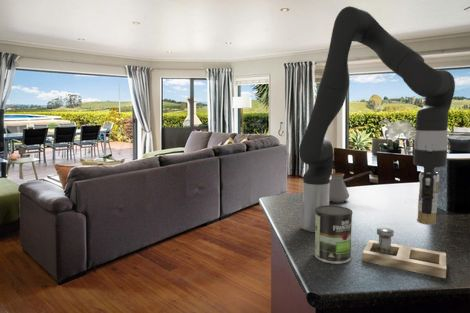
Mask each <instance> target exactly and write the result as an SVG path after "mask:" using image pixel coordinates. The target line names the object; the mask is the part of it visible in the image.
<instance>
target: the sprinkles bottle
mask: <svg viewBox="0 0 470 313" xmlns="http://www.w3.org/2000/svg"><path fill="white" fill-rule="evenodd" d="M434 174H435V173H434ZM434 177H435V176H434ZM434 177H433V178H434ZM418 180H419V190H418V192H419V193H418V203H417V218H416V222H417V223H420V224H421V225H426V226H427V225H429V226H430V225H436V224H437V221H436V219H437V209H438V197H439V195H438V193H439V192H438V191H439V190H438V188H439V182H440V174H439V173H438V175H437V180H436V190H435V191H434V192H433V200H432V213H431V214H423V213H422V198H421V195H422V190H421V189H420V185H421V179H420V173H419V175H418ZM433 185H434V183H433ZM424 194H430V195H431V192H430V191H424Z"/></svg>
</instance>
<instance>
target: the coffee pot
mask: <svg viewBox="0 0 470 313" xmlns="http://www.w3.org/2000/svg"><path fill="white" fill-rule="evenodd" d="M368 174H371V175H373V173H372V171H371V170H368V171H364V172H362V173H358V174H356V175H353V176H351V177H348V178H345V179H344V176H345V173H341V172H332V174H331V176H330V182H329V202H331V201H332V202H331V203H344V201H345V202H346V201H347V200H348V199H349V197H350V194H349V190H348V188H347V186H346V181H347V182H348V181H350V180H353V179H356V178H359V177H363V176H365V175H368Z"/></svg>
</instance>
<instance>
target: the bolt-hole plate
mask: <svg viewBox="0 0 470 313" xmlns="http://www.w3.org/2000/svg"><path fill="white" fill-rule="evenodd" d="M378 247H379V240H378V241H377V240H374V239H373V240H372V239H369V240H368V242H367V243H366V245H365V247H364V249H363V251H362V253H361V254H362V255H361V261H362V262H366V263H371V264H375V265H380V266H383V267H389V268H393V269H399V270H404V271H408V272H414V273H417V274H423V275H427V276H432V277H437V278H442V279H446V278H447V254H446V253H447V252H443V251H442V252H441V251H436V250H431V249H430V250H429V249H424V248H418V247H413V246H409V245H408V246H406V245H402V244H396V243H391V253H390V255H387V254H382V253H378Z"/></svg>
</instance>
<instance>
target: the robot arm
mask: <svg viewBox="0 0 470 313" xmlns="http://www.w3.org/2000/svg"><path fill="white" fill-rule="evenodd" d="M330 37H331V38H330V43H329V47H328V48H329V49H328V53H327V57H326V61H325V66H324V70H323V72H322V76H321V80H320V83H319V86H318V89H317V93H316V97H315V101H314V104H313V107H312V112H311V114H310V117H309V121H308V123H307V124H308V125H307V126H306V129H305V131H304V133H303V137H302V139H301V142H300V145H299V148H298V156H299V158H300V160H301V162H302V163H304V164H305V165H309V167H308V169H307V170H306V171H305V172H304V174H303V177H302V202H301V203H300V229H301V230H304V231H307V232H311V233H315V223H316V212H315V209H316V208H317V207H319V206H326V205H330V201H329V183H330V181H331V174H332V173H333V163H334V148H333V145H332V142H331V141H330V140H329V139H328V138H326V134H327V131H328V129H329V127H330V125H331V124H332V122H333V121H334V120H335V118H336V117H337V115H338V114H339V112H340V111H341V109H342V108H343V107H344V106H343V105H344V103H345V102H346V98H347V96H348V91H349V87H350V71H349V62H348V60H349V54H350V49H351V46H352V43H353V42H357V43H359V44H362V45H364V46H365V47H368V48H369V49H371V50H372V51H373V52H374V53H375V54H376V55H377V56H378V58H379V59H380V60H381V62H382V63H383V64H384V65H385V66H386V67H387V68H388V69H390V70H391V72H394V74H396V75H397V76H399V77H400V78H401V79H402V80H403V82H404V83H405V84H406V85H407V87H408V88H409V89H410V90H411V91H412V92H413V93H415V94H416V95H418V96H419V97H422V98H425V99H424V104H423V107H421V108H420V109H418V110H417V112H416V120H415V122H416V125H415V134H414V140H413V142H414V143H413V160H412V161H413V162H412V163H413V165H415V166H417V167H423V171H420V172H419V174H420V179H421V185H420V184H419V187H420V189H421V190H422V195H421V198H422V213H423V214H431V213H432V200H433V192H434V191H435V190H436V180H437V175H438V174H439V173H438V172H436V171H435V168H444V167H446V166H447V161H448V160H447V158H448V143H449V141H448V138H449V137H448V136H449V135H448V123H449V110H450V109H451V105H452V102H453V98H454V95H455V89H456V83H455V78H454V76H453V74H452V73H451V72H450V71H448V70H445V69H436V68H433V67H431V66H430V65H429V64H427V63H426V62H425V59H424V57H423V56H422V55H421V54H420V53H418V52H417V51H415V50H414V49H412V48H411V47H410V46H408V45H406V44H405V43H403V42H402V41H401V40H400V39H397V38H396V37H394V36H393V35H392V34H390V32H388V31H387V30H386V29H385V28H384V27H383V26H382V25H381V24H380V23H379V22H378V21H377V19H375V18H374V16H372V15H371V14H370V13H369V12H368V11H366V10H364V9H361V8H358V7H355V6H345V7H344V8H342V9H341V10H340V11H339V12H338V14H337V15H336V17H335V20H334V23H333V28H332V32H331V36H330ZM434 173H435V174H434ZM434 176H435V177H434ZM433 177H434V178H433ZM433 183H434V185H433ZM424 191H430V192H431V195H430V194H424Z"/></svg>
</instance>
